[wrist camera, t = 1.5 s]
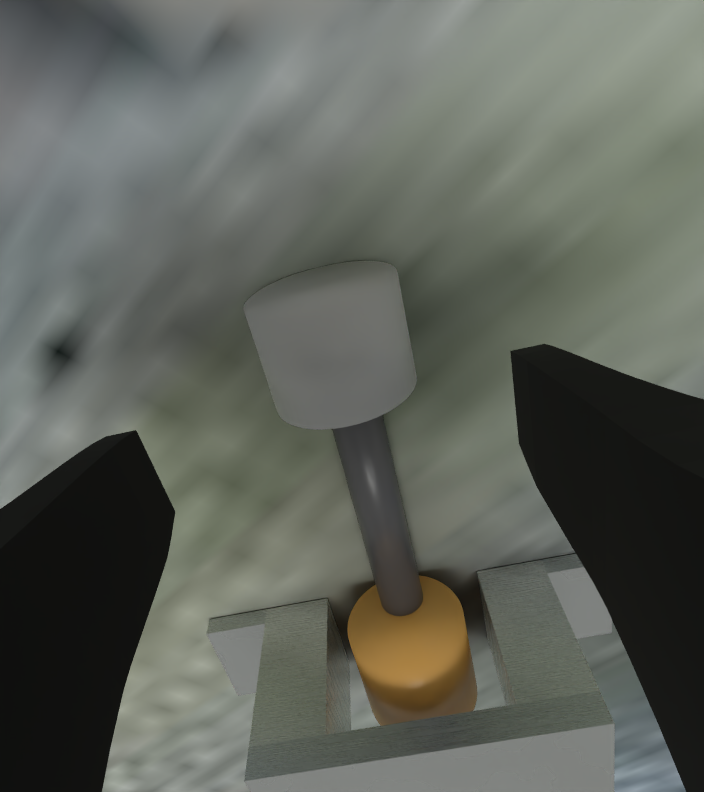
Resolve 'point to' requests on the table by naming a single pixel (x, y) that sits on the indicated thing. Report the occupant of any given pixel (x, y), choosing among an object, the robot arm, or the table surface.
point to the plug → (367, 472)
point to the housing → (439, 736)
